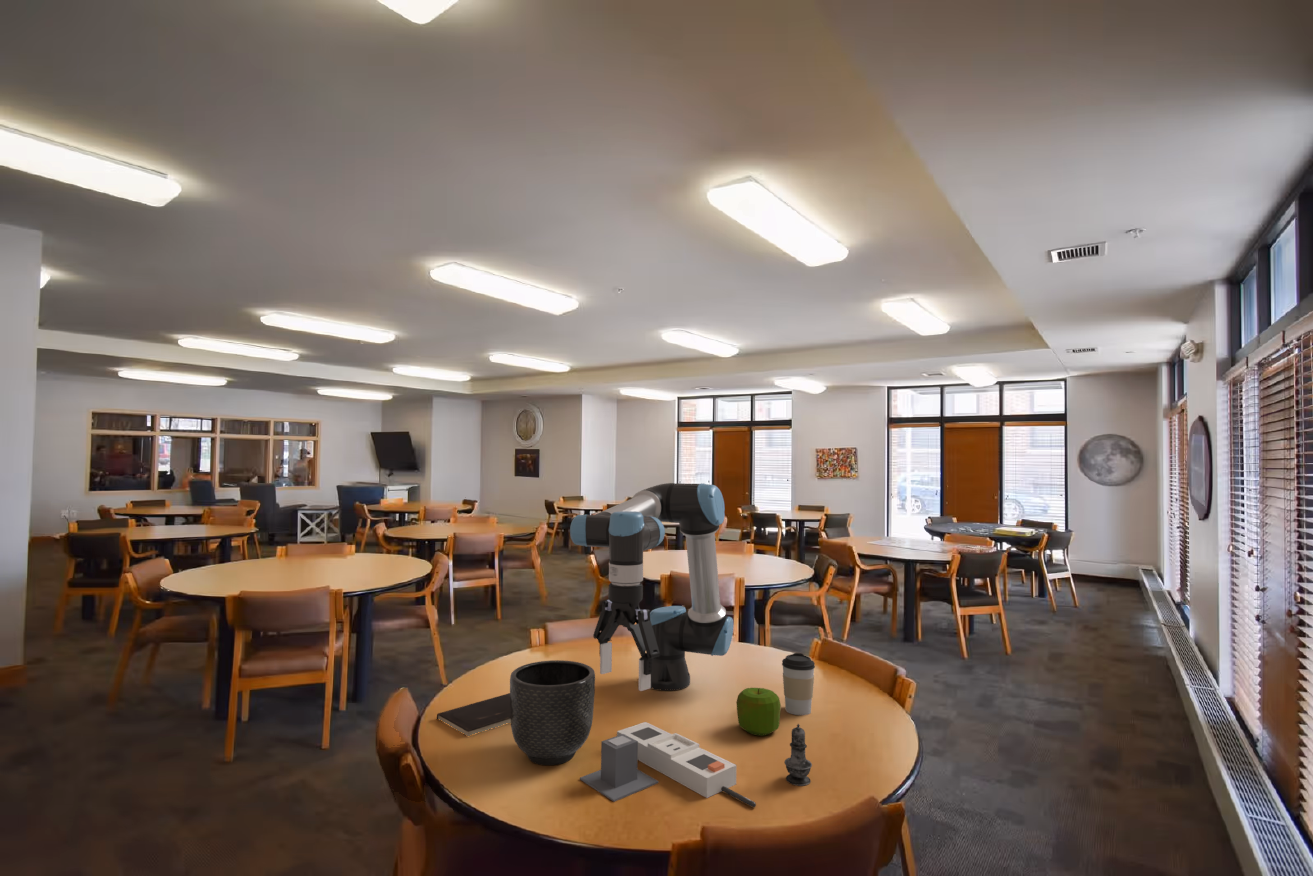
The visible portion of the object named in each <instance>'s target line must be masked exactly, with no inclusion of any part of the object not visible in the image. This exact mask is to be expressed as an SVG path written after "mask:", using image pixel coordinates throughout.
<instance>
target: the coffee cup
mask: <svg viewBox="0 0 1313 876" xmlns="http://www.w3.org/2000/svg"><path fill="white" fill-rule="evenodd" d="M781 661H782V663H781V666H782V681H783V682H782V684H783V685H782V686H783V695H784V704H785V705H784V706H785V707H784V708H785V711H786V712H787V713H788V714H792V715H796V716H808V715H810V714H811V713H812V700H813V697H814V682H815V681H814V680H815V675H814V673H815V672H814V671H815V667H816V665H815V661H814V660H812V659H811V657H810V656H808V655H804V654H803V653H800V652H794V653H792V654H788V655H786V656H785V658H783V659H782V660H781Z"/></svg>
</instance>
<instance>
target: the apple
mask: <svg viewBox="0 0 1313 876" xmlns="http://www.w3.org/2000/svg"><path fill="white" fill-rule="evenodd" d="M735 703H736V715H737V722H738V725H739V727H741V729H742V730H744V731H746V733H748V734H751V735H754V736H762V737H763V736H768V735H771V733H773V732H774V731H777V730H778V729H779V727H780V721H781V719H780V717H781V706H782V705H781V701H780V697H779V696H778V695H777V693H776V692H775V691H773V690H770V689H768V688H764V687H747V688H746V687H745V688H744V689H743V690H742V691H740V693H739V694H738V695H737V699H736V701H735Z"/></svg>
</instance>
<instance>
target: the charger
mask: <svg viewBox="0 0 1313 876" xmlns="http://www.w3.org/2000/svg"><path fill="white" fill-rule="evenodd" d="M600 744H601V747H600V748H601V749H600V750H601V752H600V753H601V755H600V756H601V758H600V770H601V780H603V781H604V782H606V783H607V784H609V785H611V786H612V787H614V788H617V787H620V786H622V785H624V784H627V783H629V782H632V781H634V780H637V769H638V761H639V760H638V741H636V740H634V739H632V738H630V737H628V736H626V735H624V734H621V735H618V736H617V735H616V736H613V737H610V738H607V739H605V740H602V741H601V743H600Z"/></svg>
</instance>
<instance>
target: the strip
mask: <svg viewBox="0 0 1313 876" xmlns="http://www.w3.org/2000/svg"><path fill="white" fill-rule="evenodd" d="M621 734H624V735H626V736H628V737H630V738H632V739H634V740H636V741H638V761H639V762H641V763H643V764H644V765H646V766H648V767H650V768H652V769H653V770H655V771H657V772H659V773H661V774H663V775H664V776H666V777H668V778H670V779H671V780H673V781H676V782H677V783H679V784H680V785H682V786H684V787H686V788H688V789H690V790H691V791H694V792H695V793H697V794H699V795H700V796H702V797H704V798H706V799H708V798H710V797H712V796H715V795H716V794H718V793H721V792H724V793H726V794H727V795H729V796H731V797H733V798H735V799H737V800H738V801H740V802H742V803H743V804H746V805H748V806H750V807H751V808H756V806H757V803H756V802H755V801H754V800H751V799H749V798H748V797H746V796H744V795H741V794H740V793H738V792H736V791H734V790H732V789H730V788H731V787H733V786H735V785H737V764H735V763H733V762H731V761H729V760H727V759H725V758H722V757H721V756H718V755H716V754H714V753H712V752H710V751H708V750H706V749H704V748H702V747H700V743H698V742H696V741H694V740H691V739H690V738H687V737H685V736H684V735H681V734H679V733H677V732H675V733H670V732H668V731H666V730H664V729H662V728H660V727H658V726H655V725H653V724H651V723H649V722H646V721H644V722H641V723H638V724H636V725H632V726H629V727H625V728H622V729H619V730H617V731H616V736H618V735H621Z"/></svg>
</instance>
